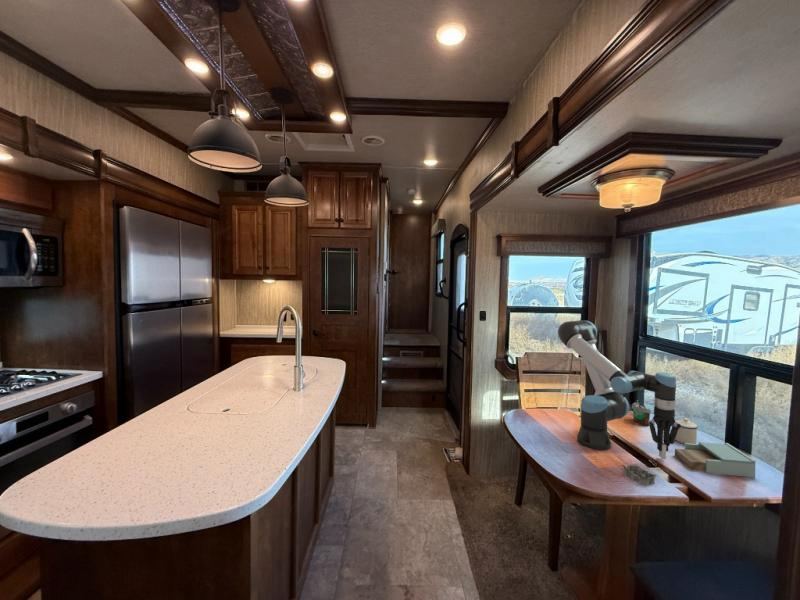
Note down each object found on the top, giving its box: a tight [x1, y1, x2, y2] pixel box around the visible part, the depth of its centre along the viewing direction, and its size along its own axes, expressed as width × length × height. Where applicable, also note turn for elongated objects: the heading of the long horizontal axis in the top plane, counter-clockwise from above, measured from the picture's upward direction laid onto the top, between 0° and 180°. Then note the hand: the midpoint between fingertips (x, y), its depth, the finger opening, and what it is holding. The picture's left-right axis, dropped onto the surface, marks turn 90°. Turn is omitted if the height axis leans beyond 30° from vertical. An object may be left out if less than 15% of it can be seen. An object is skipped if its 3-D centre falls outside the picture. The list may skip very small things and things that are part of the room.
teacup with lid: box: [671, 417, 699, 445], centre depth 175 cm, size 12×9×12 cm
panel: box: [674, 448, 720, 472], centre depth 151 cm, size 18×12×4 cm, turn 77°
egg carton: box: [621, 464, 657, 487], centre depth 142 cm, size 11×8×4 cm
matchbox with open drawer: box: [684, 441, 757, 478], centre depth 151 cm, size 17×16×7 cm
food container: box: [631, 402, 652, 427], centre depth 197 cm, size 12×6×10 cm, turn 172°
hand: (662, 457), depth 156 cm, fingers closed
